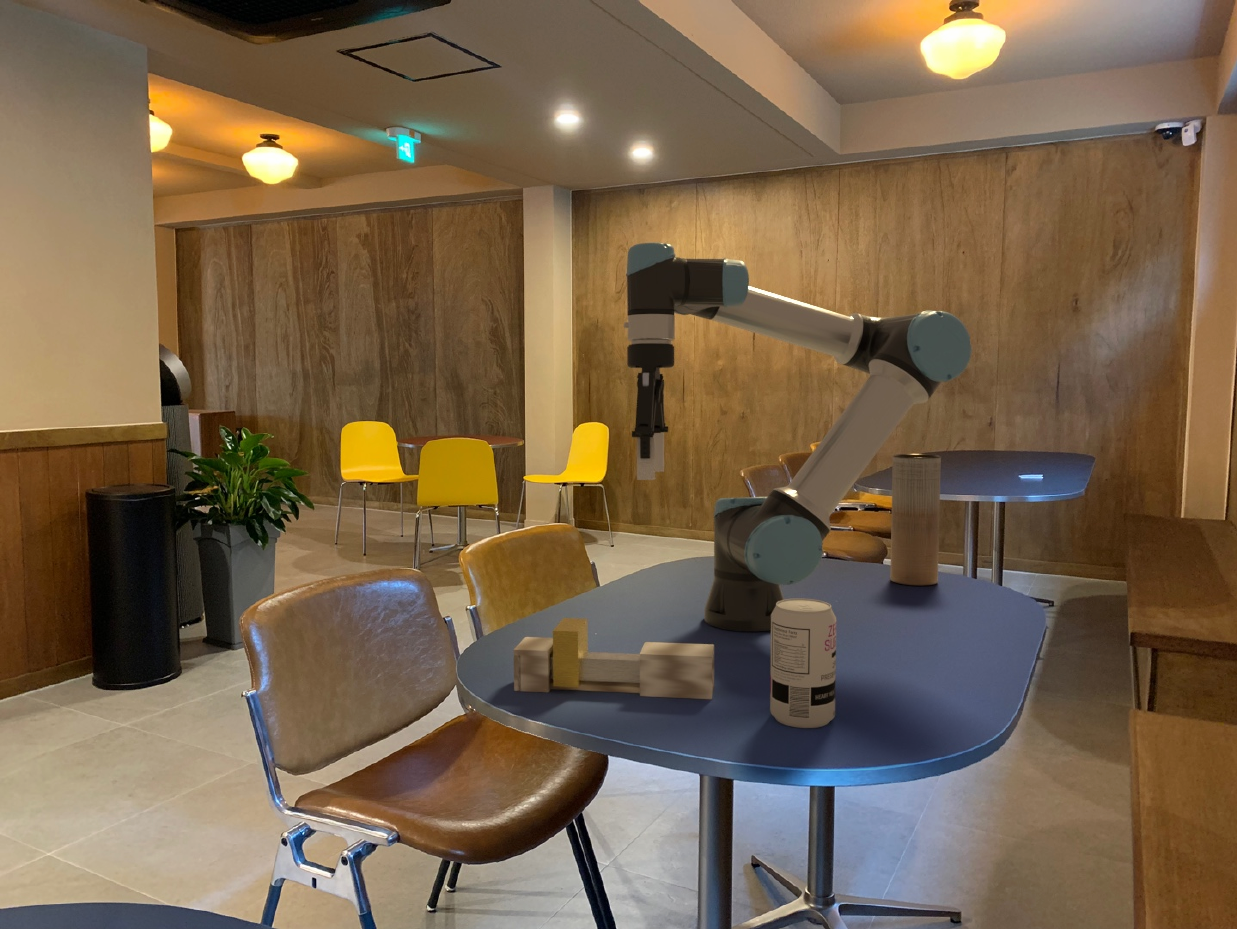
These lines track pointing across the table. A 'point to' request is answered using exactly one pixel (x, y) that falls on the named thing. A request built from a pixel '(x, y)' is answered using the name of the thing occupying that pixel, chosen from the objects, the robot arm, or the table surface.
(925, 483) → the vase
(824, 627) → the supplement can
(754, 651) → the table surface
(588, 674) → the golden wooden block
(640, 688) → the sleeve and socket
